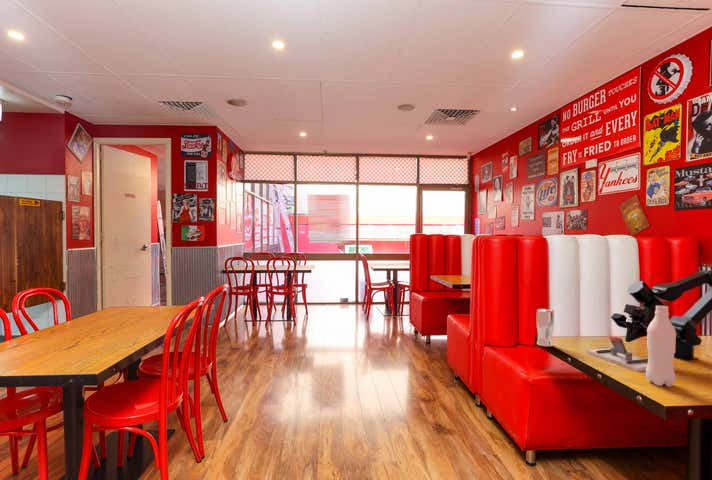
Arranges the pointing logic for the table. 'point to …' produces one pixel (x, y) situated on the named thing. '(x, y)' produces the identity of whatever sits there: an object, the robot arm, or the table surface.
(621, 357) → the plate
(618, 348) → the lever
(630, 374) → the table surface
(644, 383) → the table surface
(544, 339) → the beer glass
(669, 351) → the water bottle
